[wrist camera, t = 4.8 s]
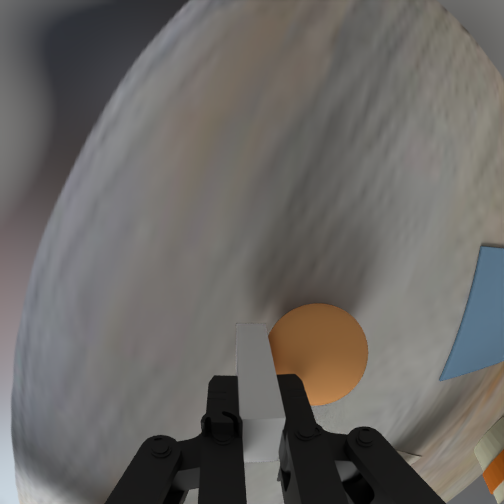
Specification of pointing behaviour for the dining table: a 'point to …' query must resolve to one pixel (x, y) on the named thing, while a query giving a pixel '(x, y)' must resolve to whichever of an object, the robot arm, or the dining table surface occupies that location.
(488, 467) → the reusable coffee cup
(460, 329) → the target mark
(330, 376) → the ball
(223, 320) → the dining table surface
